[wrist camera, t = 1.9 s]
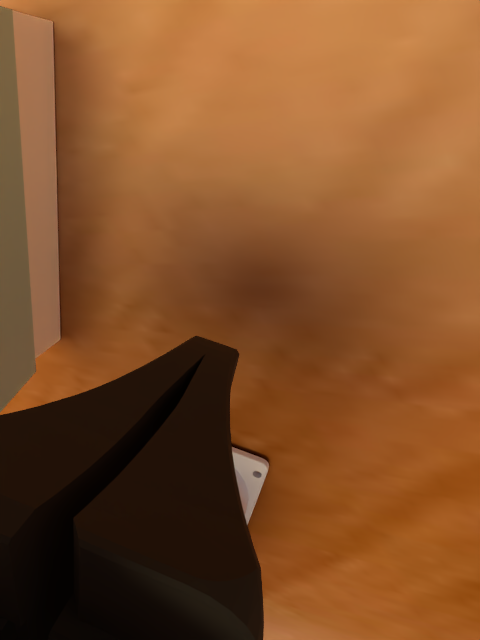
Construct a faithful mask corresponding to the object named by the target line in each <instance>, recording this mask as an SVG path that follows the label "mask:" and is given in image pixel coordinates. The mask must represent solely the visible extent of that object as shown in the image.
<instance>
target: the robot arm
mask: <svg viewBox="0 0 480 640" xmlns="http://www.w3.org/2000/svg"><path fill="white" fill-rule="evenodd" d="M238 358H239V353H238V351H237V349H234V348H231V347H228V346H225V345H222V344H219V343H216V342H213V341H210V340H207V339H205V338H202V337H199V336H195V337H193V338H191V339H189V340H187V341H186V342H184V343H183V344H181V345H179V346H178V347H176V348H174V349H173V350H171V351H169V352H167V353H166V354H164V355H162V356H161V357H159V358H157V359H155V360H153V361H151V362H150V363H148V364H146V365H144V366H142V367H140V368H138V369H136V370H134V371H132V372H130V373H128V374H126V375H124V376H122V377H120V378H118V379H116V380H113V381H111V382H109V383H106V384H104V385H102V386H99V387H97V388H94V389H91V390H89V391H86V392H83V393H81V394H78V395H75V396H71V397H68V398H65V399H61V400H58V401H55V402H51V403H48V404H45V405H41V406H38V407H34V408H30V409H26V410H22V411H17V412H13V413H9V414H4V415H0V640H263V629H264V615H263V594H262V581H261V568H260V564H259V561H258V558H257V555H256V552H255V549H254V546H253V543H252V540H251V536H250V533H249V530H248V526H247V525H248V522H249V520H250V517H251V515H252V512H253V509H254V507H255V504H256V501H257V499H258V496H259V493H260V491H261V488H262V485H263V483H264V480H265V477H266V475H267V472H268V469H269V464H268V462H267V461H266V460H265V459H263V458H261V457H258V456H255V455H253V454H250V453H247V452H245V451H242V450H239V449H237V448H234V447H232V445H231V433H230V390H231V385H232V381H233V377H234V373H235V369H236V366H237V362H238ZM257 471H258V472H257Z"/></svg>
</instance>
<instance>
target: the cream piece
mask: <svg viewBox="0 0 480 640" xmlns="http://www.w3.org/2000/svg"><path fill="white" fill-rule="evenodd" d="M12 12H13V27H14V43H15V58H16V73H17V89H18V104H19V119H20V135H21V150H22V165H23V181H24V196H25V211H26V227H27V242H28V257H29V273H30V288H31V303H32V319H33V334H34V349H35V359H36V358H37V357H38V356H39V355H41V354H42V353H43V352H45V351H46V350H47V349H49V348H50V347H51V346H53V345H54V344H55V343H57V342H58V341H59V340H60V339H61V337H60V295H59V252H58V210H57V167H56V125H55V83H54V40H53V21H50V20H46V19H42V18H39V17H35V16H31V15H28V14H24V13H21V12H17V11H13V10H12Z"/></svg>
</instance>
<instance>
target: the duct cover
mask: <svg viewBox="0 0 480 640" xmlns="http://www.w3.org/2000/svg"><path fill="white" fill-rule="evenodd" d="M35 372H36V365H35V349H34V334H33V319H32V303H31V288H30V273H29V257H28V242H27V227H26V211H25V196H24V181H23V165H22V150H21V135H20V119H19V104H18V89H17V73H16V58H15V43H14V27H13V12H12V9H8V8H5V7H1V6H0V412H1V411H2V410H3V408H4V407H5V406H6V405H7V404H8V403H9V402H10V400H11V399H12V398H13V397H14V396H15V395H16V394H17V393H18V391H19V390H20V389H21V388H22V387H23V386H24V385H25V383H26V382H27V381H28V380H29V379H30V378H31V377H32V375H33V374H34V373H35Z"/></svg>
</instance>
